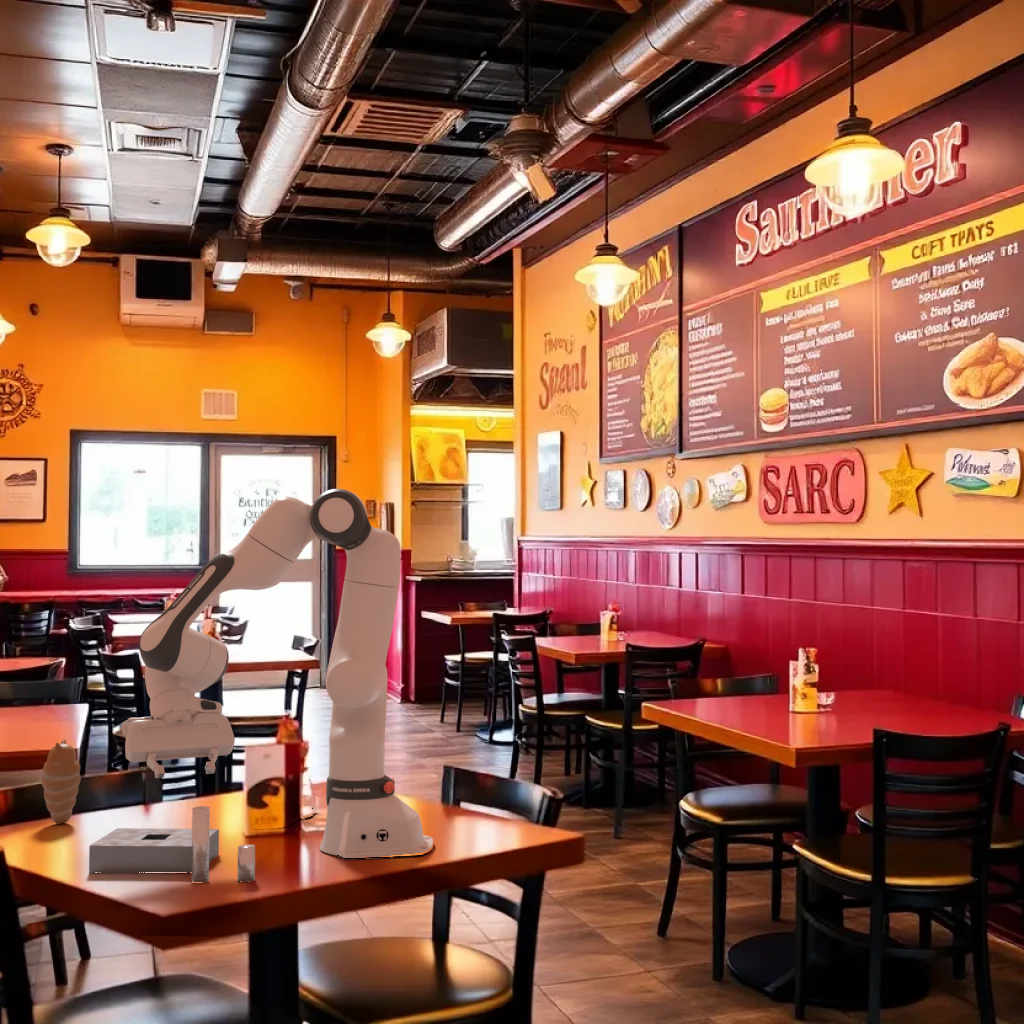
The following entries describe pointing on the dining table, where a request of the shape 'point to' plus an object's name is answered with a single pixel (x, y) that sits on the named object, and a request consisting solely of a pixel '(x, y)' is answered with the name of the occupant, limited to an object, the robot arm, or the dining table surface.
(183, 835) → the grey peg hole block
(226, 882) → the dining table surface
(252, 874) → the short pin
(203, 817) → the tall pin
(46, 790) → the cat ice cream
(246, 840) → the dining table surface
